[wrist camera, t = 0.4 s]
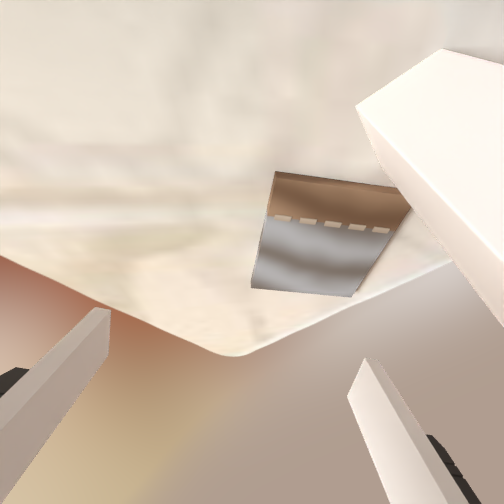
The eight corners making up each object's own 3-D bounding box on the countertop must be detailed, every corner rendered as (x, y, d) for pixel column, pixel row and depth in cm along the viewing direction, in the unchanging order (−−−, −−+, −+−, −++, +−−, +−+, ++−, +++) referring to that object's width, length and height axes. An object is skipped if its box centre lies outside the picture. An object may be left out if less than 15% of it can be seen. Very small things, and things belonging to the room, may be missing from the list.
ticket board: (275, 171, 24) (276, 178, 23) (411, 190, 25) (417, 197, 24) (251, 280, 34) (250, 288, 33) (348, 290, 35) (351, 298, 34)
